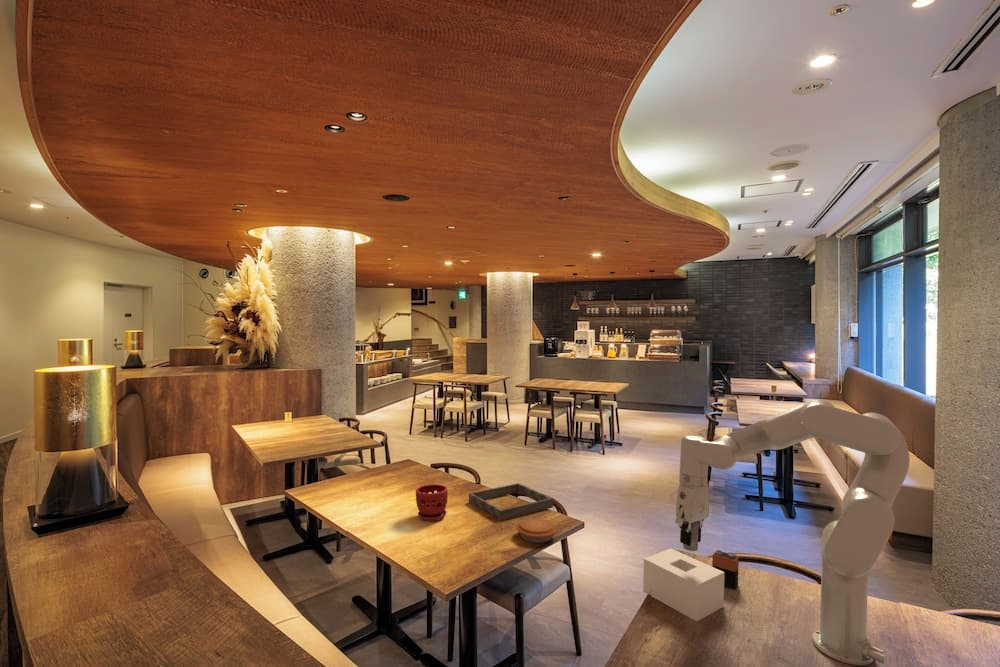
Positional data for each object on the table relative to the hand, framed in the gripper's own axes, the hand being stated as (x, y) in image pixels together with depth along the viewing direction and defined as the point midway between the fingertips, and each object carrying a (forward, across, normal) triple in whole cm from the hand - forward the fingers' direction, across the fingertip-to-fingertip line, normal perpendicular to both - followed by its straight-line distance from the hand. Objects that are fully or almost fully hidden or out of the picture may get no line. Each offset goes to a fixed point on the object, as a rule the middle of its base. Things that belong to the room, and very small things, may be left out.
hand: (690, 541), depth 143 cm
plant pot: (+20, -32, +97) cm, 105 cm away
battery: (+18, +19, 0) cm, 27 cm away
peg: (+2, 0, 0) cm, 2 cm away
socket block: (+18, 0, +2) cm, 18 cm away
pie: (+20, -8, +59) cm, 63 cm away
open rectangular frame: (+20, +4, +91) cm, 93 cm away
